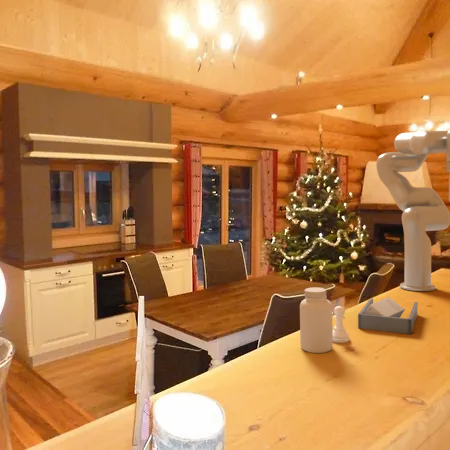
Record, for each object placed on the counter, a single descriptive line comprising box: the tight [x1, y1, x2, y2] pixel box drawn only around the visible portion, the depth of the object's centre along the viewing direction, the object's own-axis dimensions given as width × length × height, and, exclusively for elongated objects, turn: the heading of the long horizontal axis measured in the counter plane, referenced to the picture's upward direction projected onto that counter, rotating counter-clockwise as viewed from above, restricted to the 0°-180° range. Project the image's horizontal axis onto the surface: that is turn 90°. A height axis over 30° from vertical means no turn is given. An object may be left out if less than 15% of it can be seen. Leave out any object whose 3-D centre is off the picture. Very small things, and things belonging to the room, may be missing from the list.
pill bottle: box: [299, 286, 334, 354], centre depth 113 cm, size 8×8×15 cm
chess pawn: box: [332, 305, 350, 344], centre depth 119 cm, size 5×5×9 cm
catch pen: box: [357, 297, 419, 335], centre depth 134 cm, size 20×14×4 cm
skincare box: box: [365, 296, 406, 318], centre depth 133 cm, size 6×4×12 cm
